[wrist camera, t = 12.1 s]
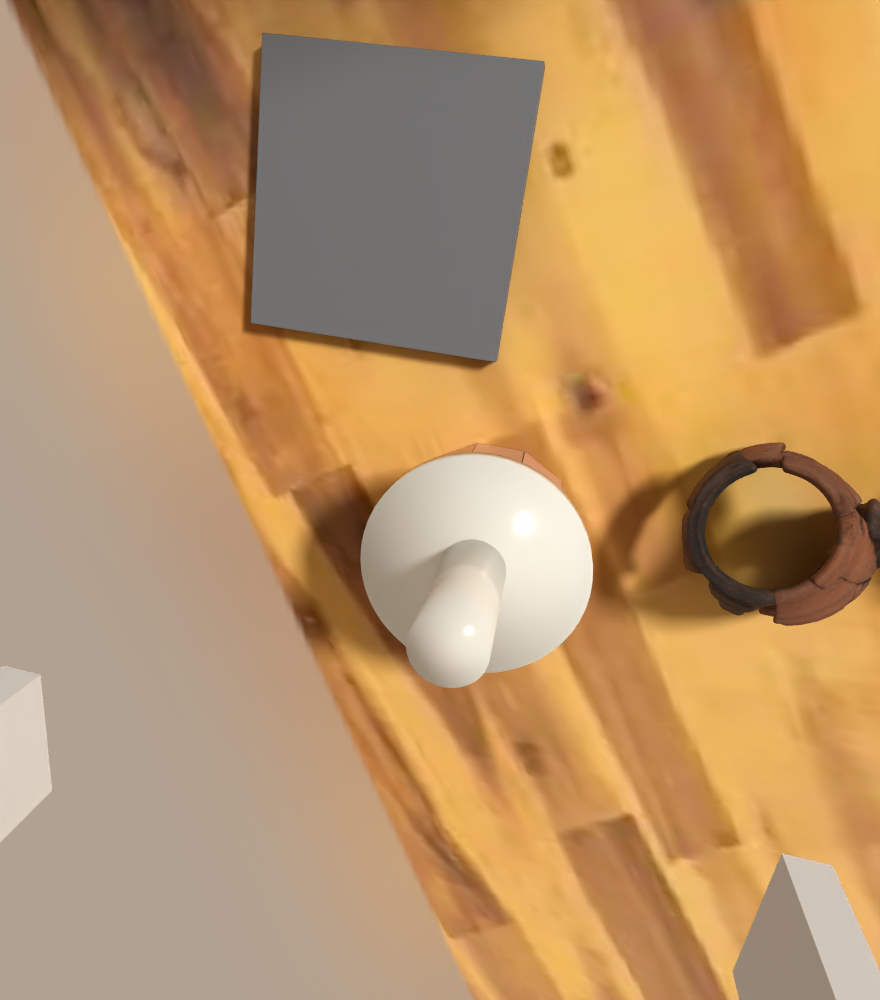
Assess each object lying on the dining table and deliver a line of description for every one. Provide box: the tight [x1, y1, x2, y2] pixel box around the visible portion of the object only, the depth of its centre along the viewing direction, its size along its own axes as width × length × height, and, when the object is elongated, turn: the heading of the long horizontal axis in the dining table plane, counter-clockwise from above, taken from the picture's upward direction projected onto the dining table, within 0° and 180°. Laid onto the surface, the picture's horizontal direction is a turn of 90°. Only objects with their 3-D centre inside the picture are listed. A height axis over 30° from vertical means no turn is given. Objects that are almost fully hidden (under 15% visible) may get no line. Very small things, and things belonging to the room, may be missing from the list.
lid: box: [360, 452, 593, 688], centre depth 30 cm, size 12×12×9 cm
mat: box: [251, 33, 545, 362], centre depth 34 cm, size 14×14×1 cm
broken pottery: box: [682, 443, 880, 626], centre depth 33 cm, size 12×10×8 cm
